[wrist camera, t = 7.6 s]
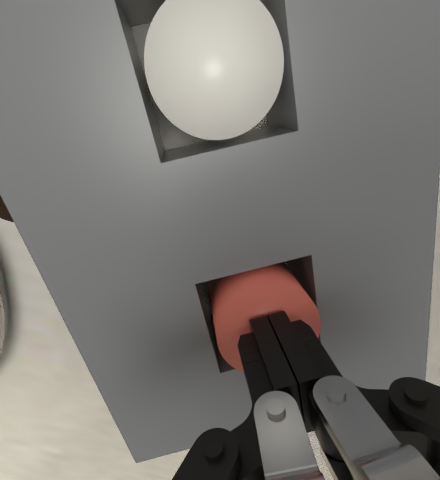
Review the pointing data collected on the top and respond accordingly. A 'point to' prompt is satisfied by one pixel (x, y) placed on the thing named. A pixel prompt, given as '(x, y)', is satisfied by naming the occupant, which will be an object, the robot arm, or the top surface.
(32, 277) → the top surface
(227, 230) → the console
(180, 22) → the grey button
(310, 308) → the red button
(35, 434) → the top surface
